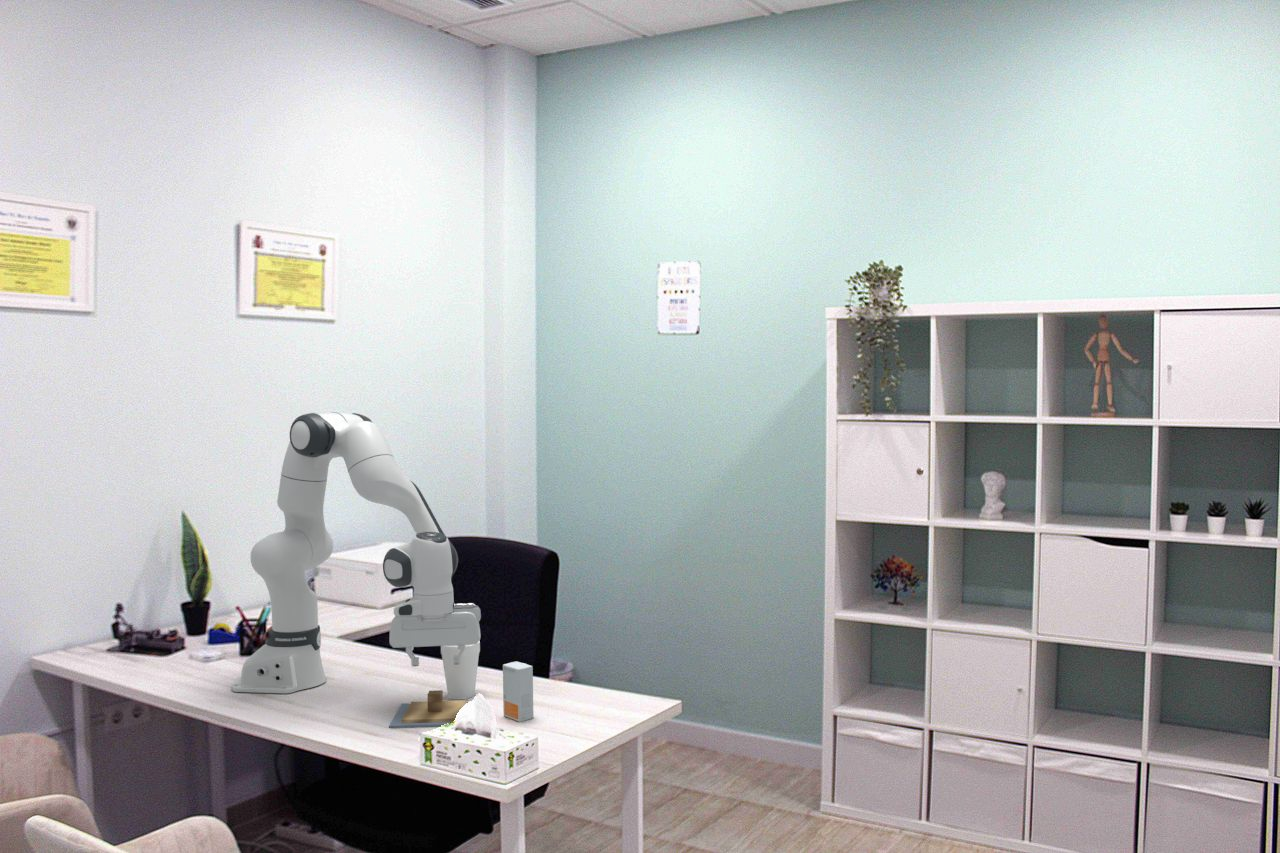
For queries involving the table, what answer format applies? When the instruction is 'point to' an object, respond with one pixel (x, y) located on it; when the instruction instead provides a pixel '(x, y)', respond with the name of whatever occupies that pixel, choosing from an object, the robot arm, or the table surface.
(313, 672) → the robot arm
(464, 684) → the foam cup
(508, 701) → the skincare box
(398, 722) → the slate mat
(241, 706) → the table surface
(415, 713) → the oak lid
